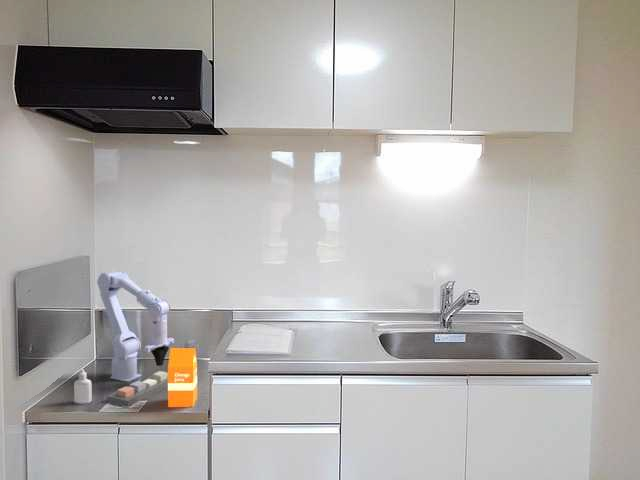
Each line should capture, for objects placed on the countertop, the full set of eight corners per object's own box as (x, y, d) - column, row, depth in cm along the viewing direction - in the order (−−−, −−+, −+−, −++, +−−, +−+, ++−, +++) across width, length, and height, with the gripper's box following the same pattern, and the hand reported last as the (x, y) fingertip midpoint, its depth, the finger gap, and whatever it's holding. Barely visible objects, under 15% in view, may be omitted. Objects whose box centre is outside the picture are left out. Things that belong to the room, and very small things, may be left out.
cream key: (141, 388, 184) (141, 382, 184) (149, 384, 188) (149, 378, 188) (149, 390, 183) (149, 383, 182) (157, 386, 186) (157, 380, 186)
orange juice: (172, 398, 176) (172, 345, 175) (197, 398, 177) (197, 345, 176) (167, 407, 169) (167, 351, 167) (193, 406, 169) (193, 351, 168)
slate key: (129, 391, 179) (129, 384, 178) (137, 387, 182) (137, 380, 182) (138, 392, 177) (138, 386, 177) (145, 389, 181) (145, 382, 180)
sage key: (152, 380, 190) (152, 374, 189) (159, 377, 193) (159, 371, 193) (160, 382, 188) (160, 375, 188) (167, 378, 192) (167, 372, 192)
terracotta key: (117, 396, 173) (117, 390, 173) (125, 392, 177) (125, 386, 176) (125, 398, 171) (125, 391, 171) (134, 394, 175) (134, 388, 175)
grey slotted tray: (106, 401, 172) (106, 396, 172) (157, 377, 196) (157, 373, 196) (128, 406, 169) (127, 400, 168) (176, 381, 192) (176, 377, 192)
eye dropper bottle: (82, 406, 168) (81, 372, 167) (72, 402, 171) (72, 369, 170) (93, 401, 172) (93, 369, 171) (84, 398, 175) (83, 366, 174)
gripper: (154, 337, 181) (154, 372, 182) (179, 328, 194) (179, 361, 195) (139, 334, 184) (140, 369, 185) (166, 326, 197) (166, 358, 198)
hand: (159, 365), depth 190 cm, fingers closed
